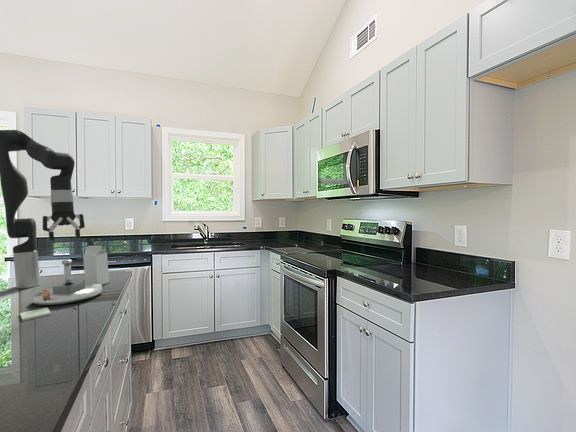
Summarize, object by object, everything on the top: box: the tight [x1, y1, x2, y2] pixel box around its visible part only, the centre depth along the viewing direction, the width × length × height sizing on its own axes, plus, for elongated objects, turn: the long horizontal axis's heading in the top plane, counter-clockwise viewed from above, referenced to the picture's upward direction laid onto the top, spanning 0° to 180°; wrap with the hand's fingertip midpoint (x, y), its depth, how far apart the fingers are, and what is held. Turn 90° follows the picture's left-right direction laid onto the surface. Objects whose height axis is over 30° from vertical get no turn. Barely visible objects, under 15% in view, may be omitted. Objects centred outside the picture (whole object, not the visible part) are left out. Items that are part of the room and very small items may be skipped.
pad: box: [19, 307, 52, 322], centre depth 116 cm, size 8×8×1 cm
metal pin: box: [61, 258, 73, 285], centre depth 135 cm, size 4×4×13 cm
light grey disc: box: [32, 281, 103, 306], centre depth 135 cm, size 24×24×6 cm
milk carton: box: [82, 245, 110, 286], centre depth 155 cm, size 7×7×19 cm
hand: (65, 239), depth 134 cm, fingers open, 8 cm apart
